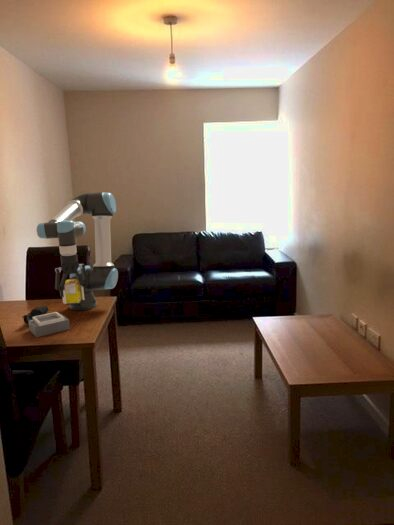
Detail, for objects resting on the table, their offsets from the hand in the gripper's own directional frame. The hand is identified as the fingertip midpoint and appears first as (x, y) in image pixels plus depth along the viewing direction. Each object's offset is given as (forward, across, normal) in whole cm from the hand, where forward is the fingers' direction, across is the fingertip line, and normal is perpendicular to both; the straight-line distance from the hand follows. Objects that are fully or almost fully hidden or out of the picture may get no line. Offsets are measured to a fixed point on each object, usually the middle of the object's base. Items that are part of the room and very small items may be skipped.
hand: (73, 301), depth 201 cm
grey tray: (+16, +10, -12) cm, 22 cm away
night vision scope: (+16, +11, -30) cm, 36 cm away
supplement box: (+1, 0, 0) cm, 1 cm away
